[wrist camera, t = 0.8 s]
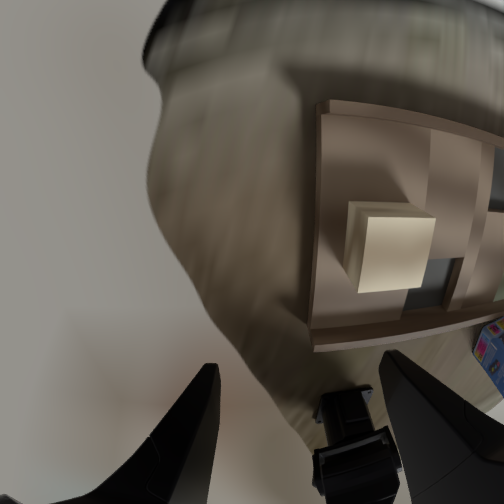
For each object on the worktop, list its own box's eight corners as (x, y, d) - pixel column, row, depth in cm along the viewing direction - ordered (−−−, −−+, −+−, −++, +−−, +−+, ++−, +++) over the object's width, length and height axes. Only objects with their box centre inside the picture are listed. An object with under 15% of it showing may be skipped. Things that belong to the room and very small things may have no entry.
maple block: (399, 264, 20) (420, 287, 17) (342, 267, 20) (357, 293, 17) (409, 202, 18) (435, 218, 15) (348, 201, 18) (368, 217, 15)
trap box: (510, 294, 24) (525, 308, 21) (306, 325, 24) (313, 352, 21) (540, 157, 16) (561, 165, 13) (315, 104, 17) (329, 99, 13)
